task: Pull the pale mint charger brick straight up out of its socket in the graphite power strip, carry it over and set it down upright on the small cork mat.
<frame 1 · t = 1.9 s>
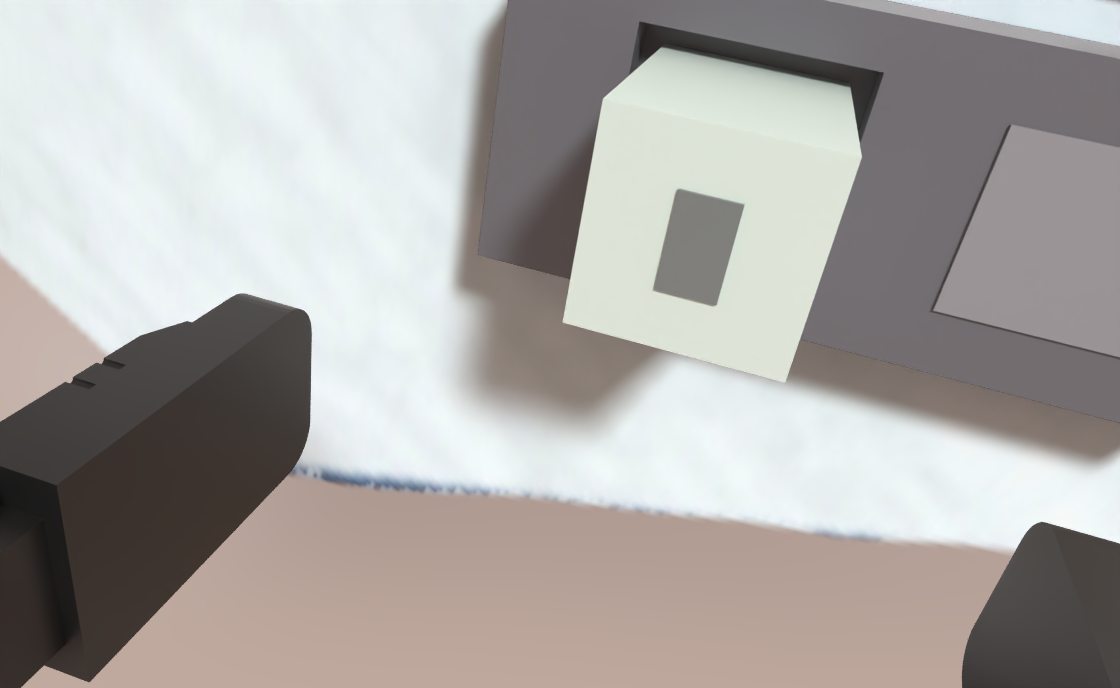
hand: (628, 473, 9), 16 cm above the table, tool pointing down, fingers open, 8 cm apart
power strip: (886, 168, 23), on the table
charger: (732, 153, 22), point 2 cm above the table, touching power strip
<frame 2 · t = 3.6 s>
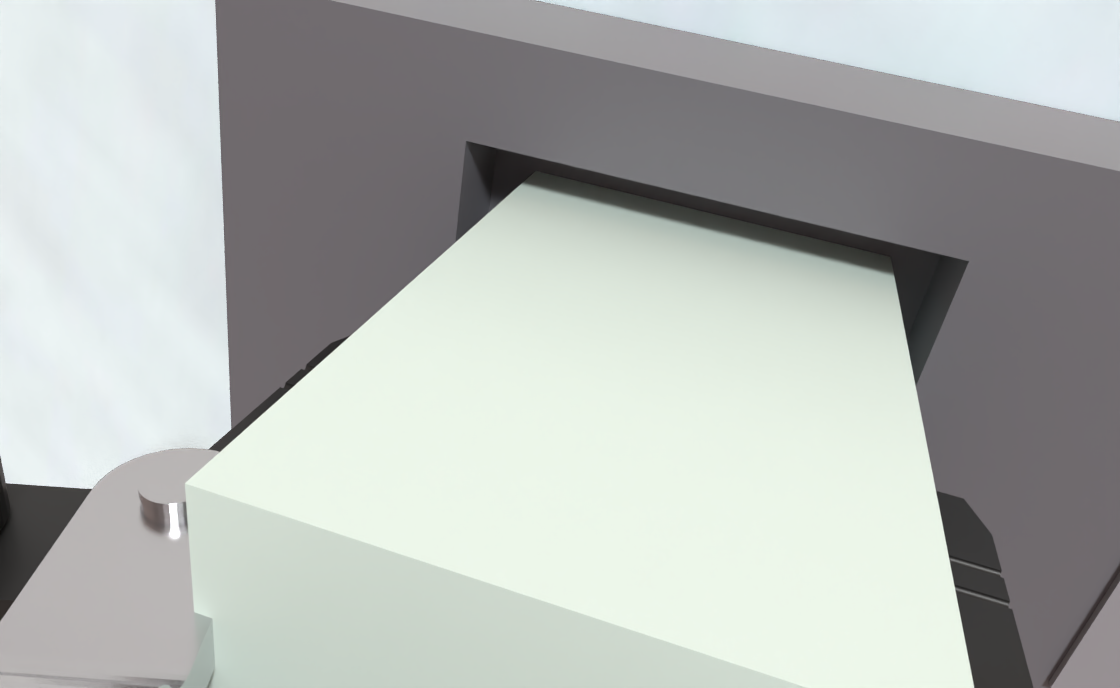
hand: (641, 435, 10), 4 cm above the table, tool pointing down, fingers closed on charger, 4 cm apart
power strip: (947, 376, 13), on the table
charger: (667, 366, 12), point 2 cm above the table, touching gripper, power strip
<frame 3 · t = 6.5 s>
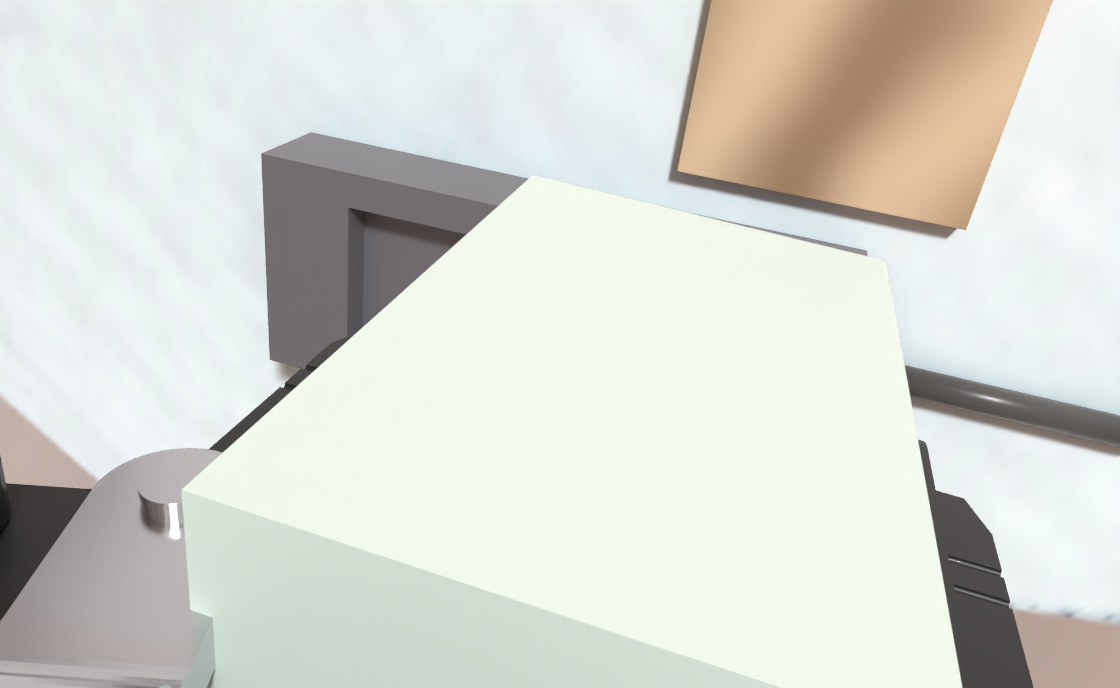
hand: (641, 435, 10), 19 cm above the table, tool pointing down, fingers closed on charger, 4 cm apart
power strip: (557, 292, 31), on the table
charger: (664, 369, 12), point 18 cm above the table, touching gripper
cork mat: (858, 49, 25), on the table
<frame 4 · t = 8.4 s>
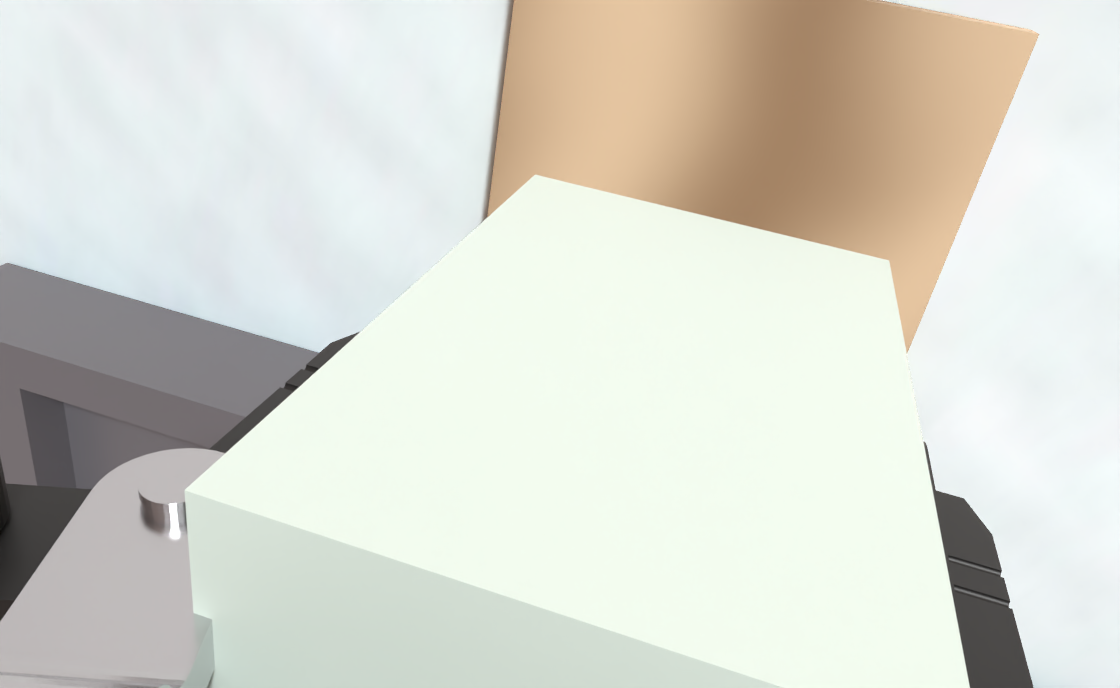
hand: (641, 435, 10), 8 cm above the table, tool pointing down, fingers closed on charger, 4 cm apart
power strip: (338, 483, 24), on the table
charger: (667, 369, 12), point 7 cm above the table, touching gripper
cork mat: (709, 213, 17), on the table
when the fingers open (3 cm above the table, at t = 9.7 s): charger stays where it is, resting on cork mat.
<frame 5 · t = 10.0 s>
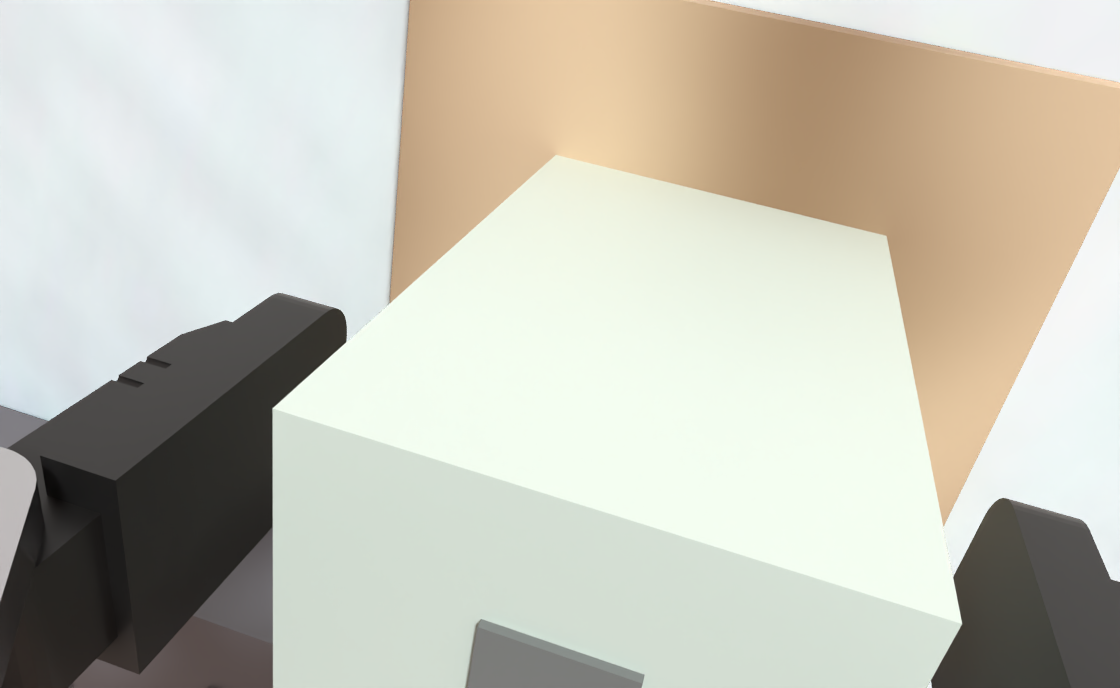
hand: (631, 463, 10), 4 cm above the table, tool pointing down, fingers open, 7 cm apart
power strip: (233, 619, 19), on the table
charger: (677, 339, 12), point 1 cm above the table, touching cork mat
cork mat: (681, 321, 13), on the table
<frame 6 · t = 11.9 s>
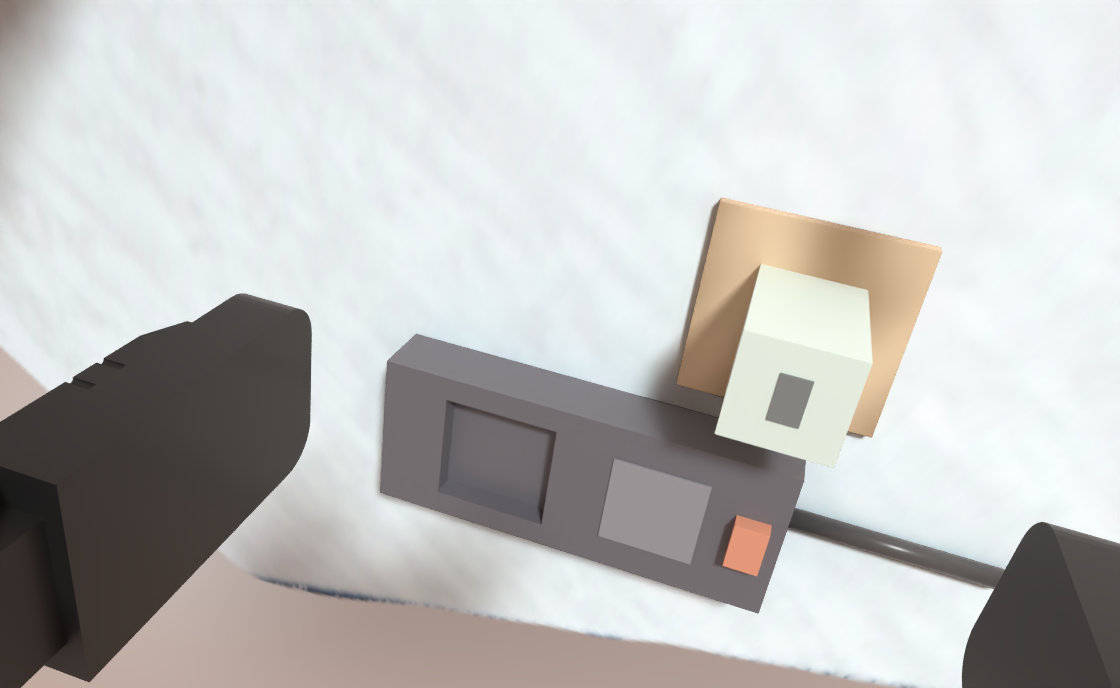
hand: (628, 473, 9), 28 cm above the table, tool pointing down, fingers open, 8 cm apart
power strip: (589, 452, 44), on the table
charger: (799, 323, 37), point 1 cm above the table, touching cork mat
cork mat: (799, 318, 37), on the table
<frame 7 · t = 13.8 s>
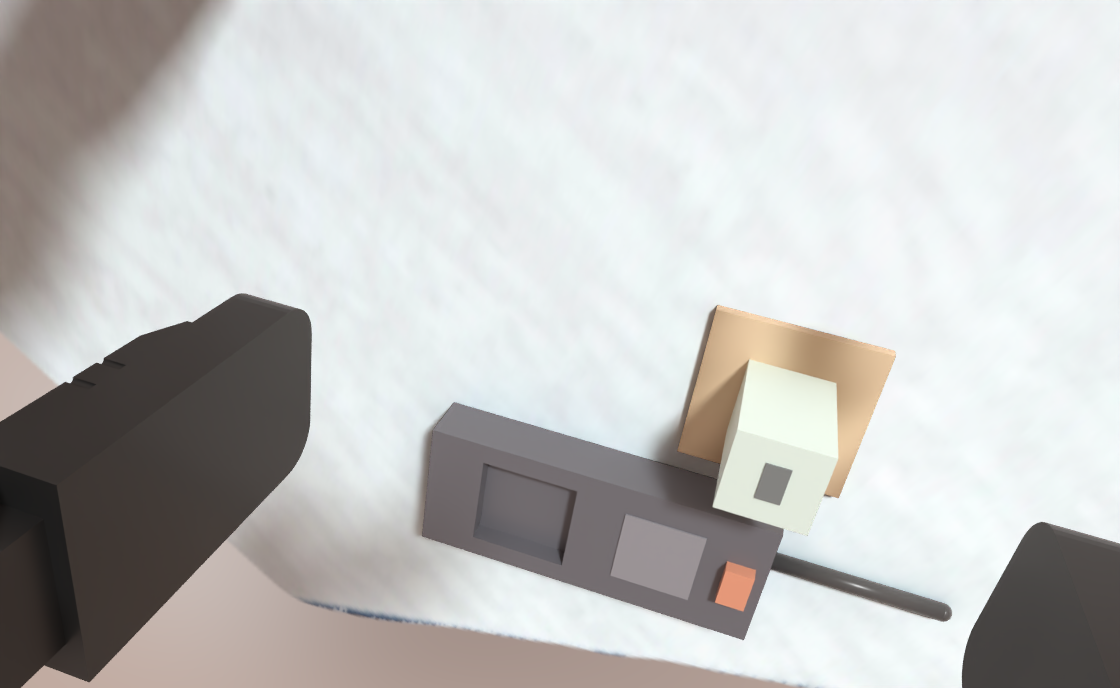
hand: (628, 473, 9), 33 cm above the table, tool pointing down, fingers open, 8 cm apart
power strip: (601, 502, 51), on the table
charger: (779, 407, 45), point 1 cm above the table, touching cork mat
cork mat: (779, 401, 45), on the table
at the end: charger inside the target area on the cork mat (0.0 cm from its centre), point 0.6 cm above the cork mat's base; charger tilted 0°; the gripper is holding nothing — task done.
